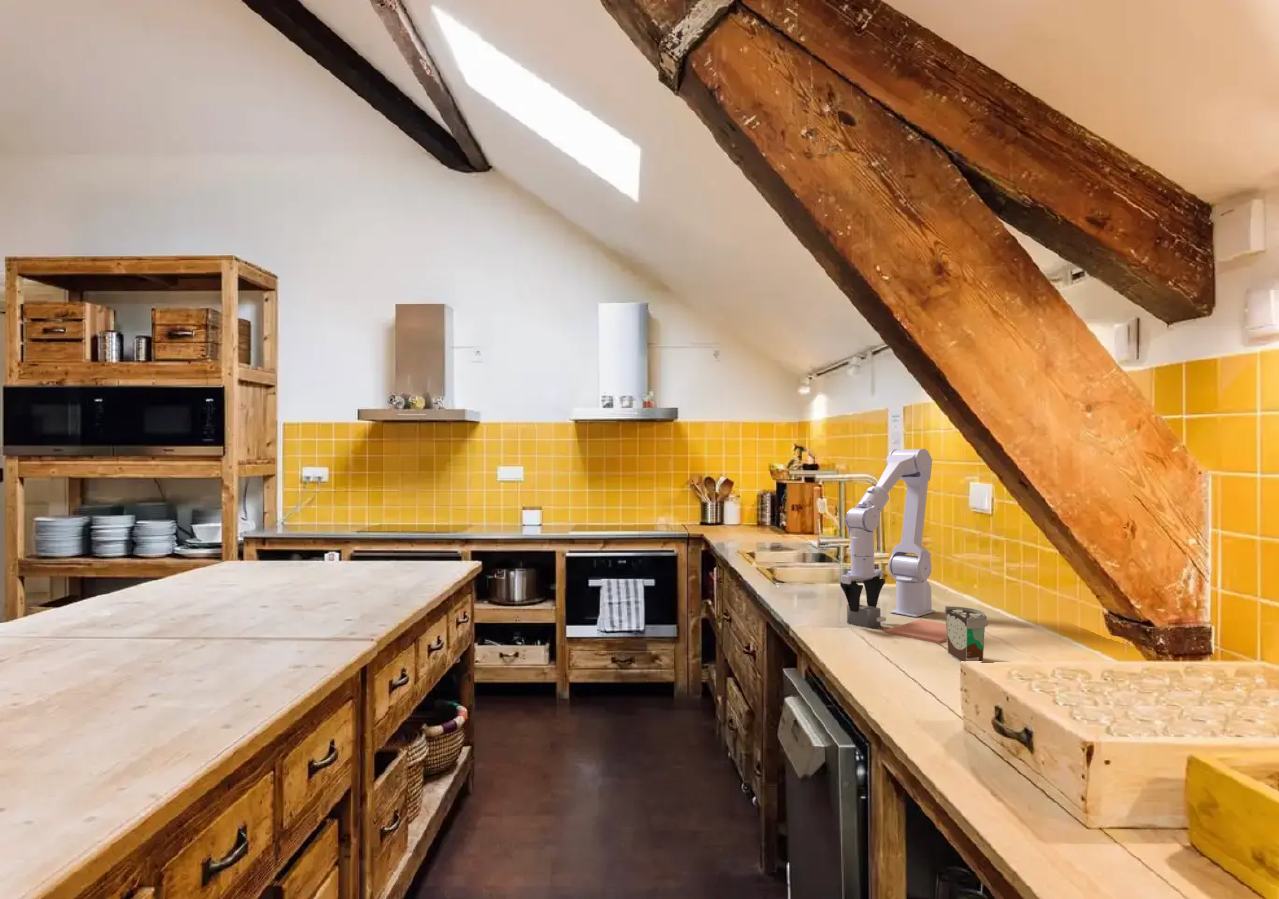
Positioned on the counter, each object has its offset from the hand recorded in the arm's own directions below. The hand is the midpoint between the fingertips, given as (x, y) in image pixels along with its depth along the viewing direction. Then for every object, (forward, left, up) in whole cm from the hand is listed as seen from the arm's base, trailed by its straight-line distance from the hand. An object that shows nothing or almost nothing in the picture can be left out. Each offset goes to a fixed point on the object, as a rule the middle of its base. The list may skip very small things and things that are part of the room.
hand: (863, 609), depth 187 cm
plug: (0, 0, -4) cm, 4 cm away
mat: (-5, +15, -4) cm, 16 cm away
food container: (+10, +33, -4) cm, 35 cm away
